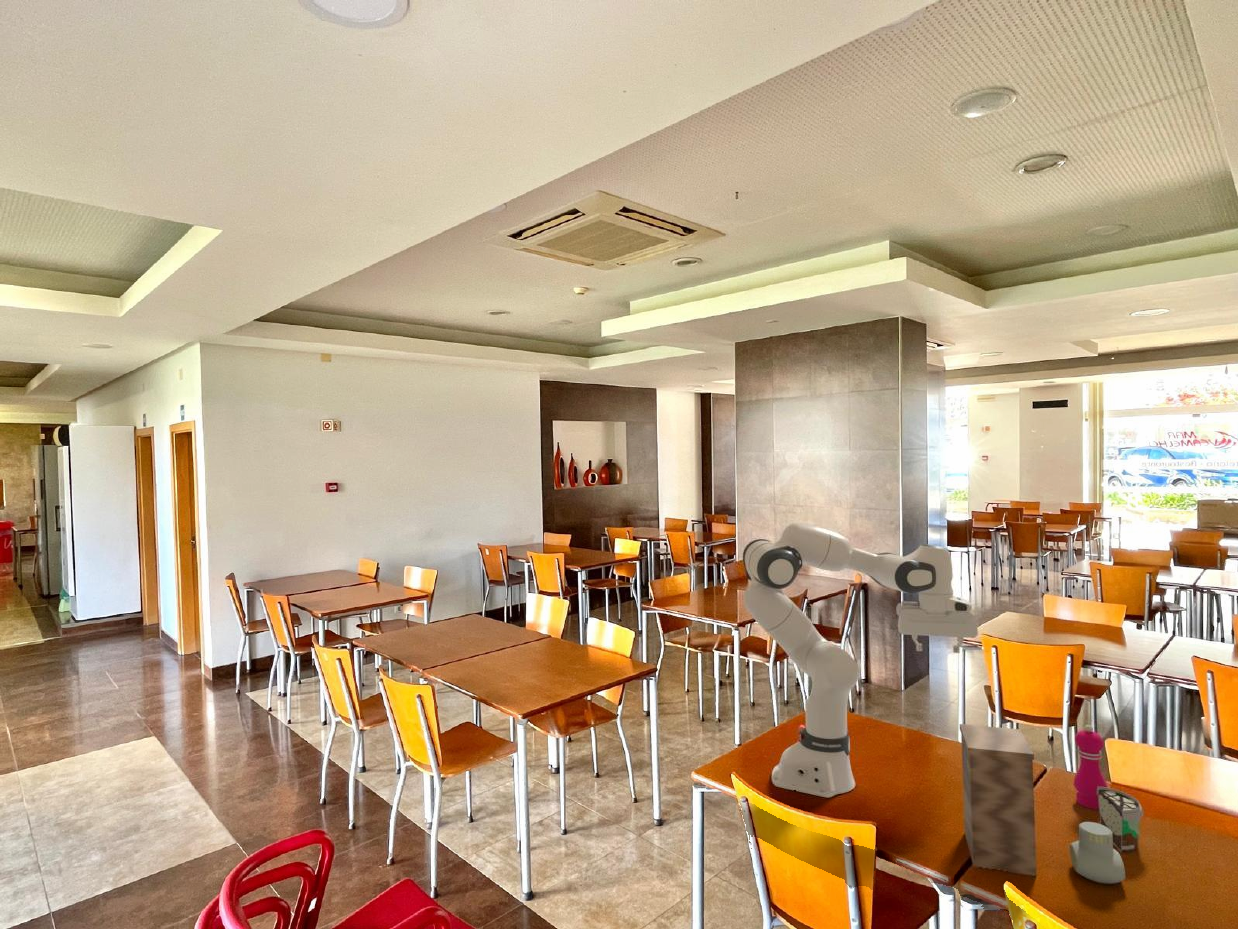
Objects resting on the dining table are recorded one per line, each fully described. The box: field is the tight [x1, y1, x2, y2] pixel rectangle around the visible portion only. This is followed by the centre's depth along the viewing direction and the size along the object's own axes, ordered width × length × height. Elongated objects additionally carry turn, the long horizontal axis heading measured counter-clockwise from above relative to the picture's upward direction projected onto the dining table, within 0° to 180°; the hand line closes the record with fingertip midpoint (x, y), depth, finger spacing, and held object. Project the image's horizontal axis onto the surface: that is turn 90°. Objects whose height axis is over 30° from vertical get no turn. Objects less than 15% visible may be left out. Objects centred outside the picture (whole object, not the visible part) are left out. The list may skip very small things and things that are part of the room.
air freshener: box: [1069, 821, 1126, 885], centre depth 144 cm, size 11×8×10 cm
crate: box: [959, 723, 1038, 877], centre depth 153 cm, size 13×14×26 cm
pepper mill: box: [1073, 724, 1109, 810], centre depth 174 cm, size 7×7×20 cm
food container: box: [1097, 787, 1144, 854], centre depth 156 cm, size 12×6×10 cm, turn 168°
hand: (937, 651), depth 191 cm, fingers open, 8 cm apart
